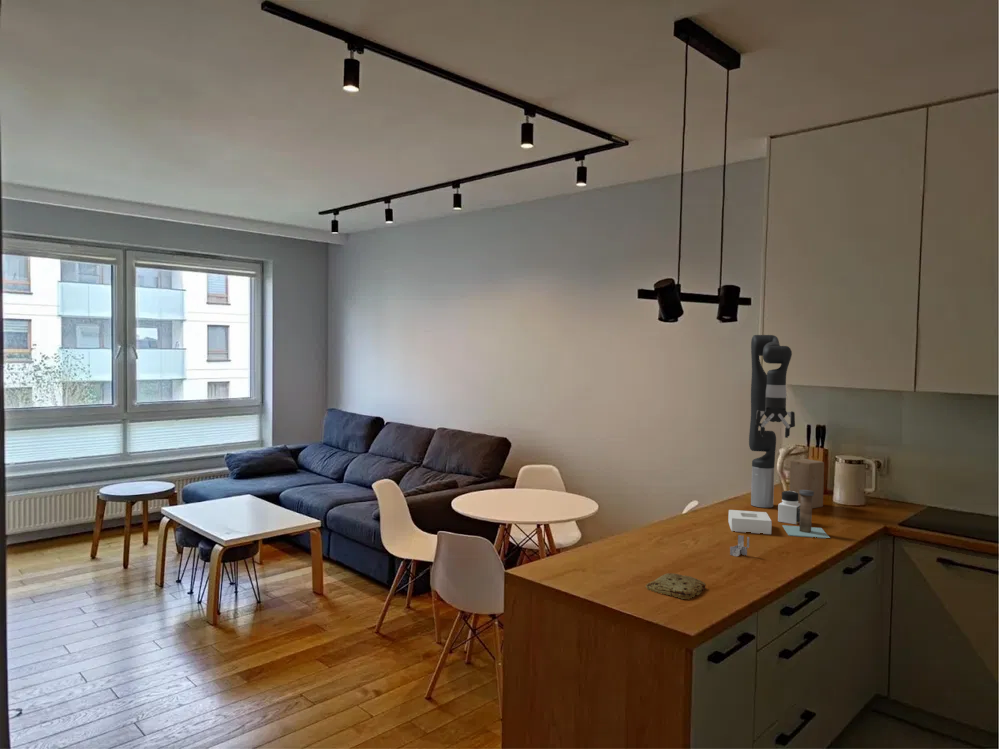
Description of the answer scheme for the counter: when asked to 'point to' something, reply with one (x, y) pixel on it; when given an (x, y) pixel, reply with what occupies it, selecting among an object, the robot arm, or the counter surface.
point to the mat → (795, 532)
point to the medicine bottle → (789, 508)
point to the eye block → (749, 521)
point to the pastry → (677, 585)
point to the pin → (806, 510)
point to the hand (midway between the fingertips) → (774, 437)
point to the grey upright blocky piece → (739, 547)
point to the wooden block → (808, 479)
